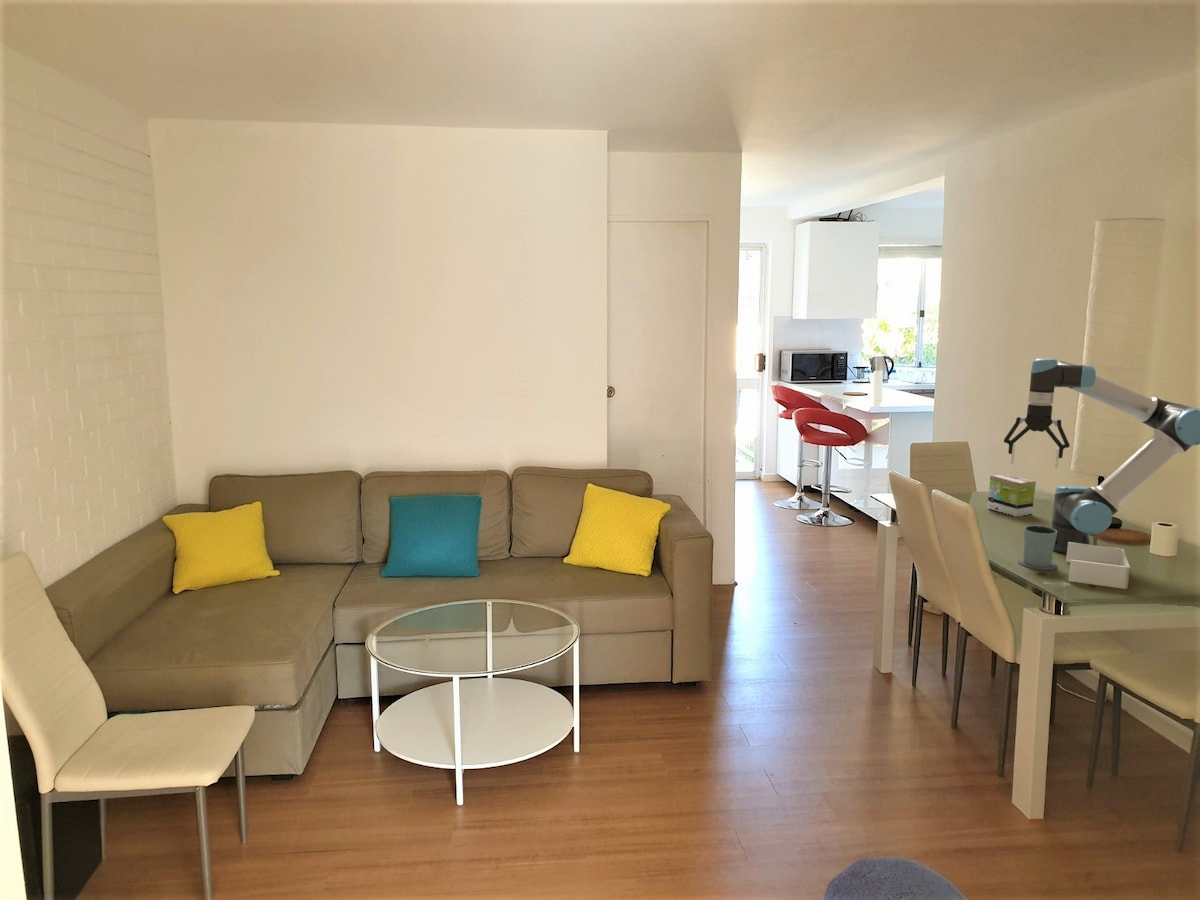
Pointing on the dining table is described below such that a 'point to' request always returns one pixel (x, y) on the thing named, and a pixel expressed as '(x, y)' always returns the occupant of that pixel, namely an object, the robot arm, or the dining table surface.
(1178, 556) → the dining table surface
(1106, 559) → the open-front crate
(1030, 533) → the blue plant pot
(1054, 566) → the coaster
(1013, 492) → the tea box
